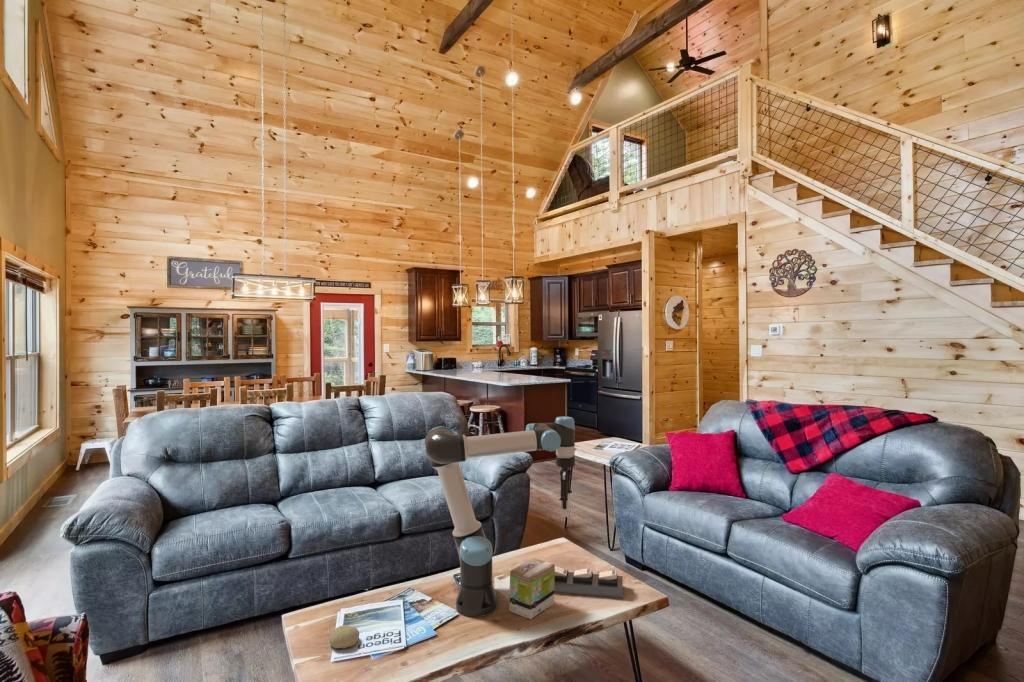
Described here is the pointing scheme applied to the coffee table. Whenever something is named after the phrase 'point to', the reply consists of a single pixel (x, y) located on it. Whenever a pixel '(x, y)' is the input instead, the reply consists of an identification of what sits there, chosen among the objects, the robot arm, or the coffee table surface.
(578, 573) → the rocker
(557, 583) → the rocker switch panel
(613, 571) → the rocker
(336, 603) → the coffee table surface
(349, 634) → the brown kiwi fruit
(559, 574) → the rocker
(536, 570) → the tea box
